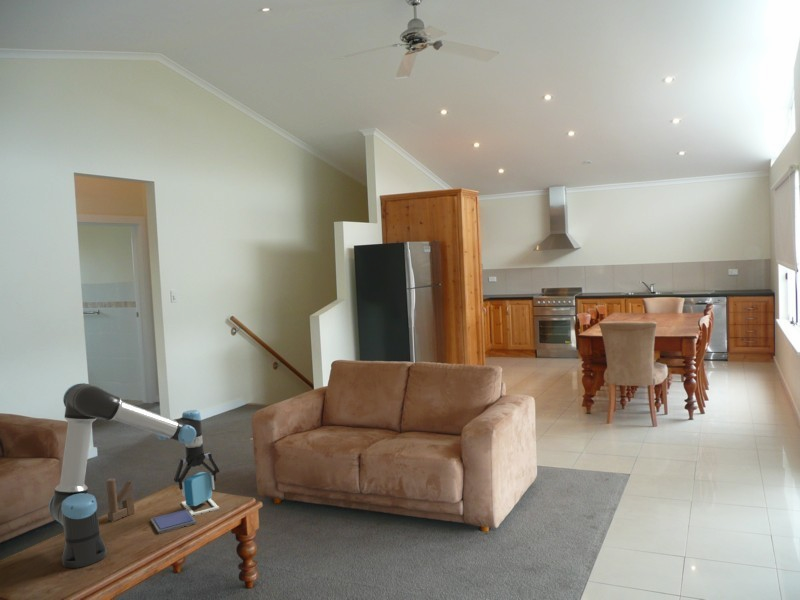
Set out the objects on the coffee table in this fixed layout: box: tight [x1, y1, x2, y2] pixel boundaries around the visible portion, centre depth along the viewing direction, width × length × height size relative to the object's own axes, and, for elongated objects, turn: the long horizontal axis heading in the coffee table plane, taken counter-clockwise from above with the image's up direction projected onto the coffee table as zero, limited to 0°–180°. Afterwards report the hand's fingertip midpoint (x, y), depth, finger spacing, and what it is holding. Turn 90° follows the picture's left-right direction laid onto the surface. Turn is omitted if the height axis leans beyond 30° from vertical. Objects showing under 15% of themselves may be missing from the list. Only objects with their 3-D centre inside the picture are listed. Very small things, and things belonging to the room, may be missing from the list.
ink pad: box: [150, 508, 197, 535], centre depth 271 cm, size 15×17×2 cm
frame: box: [180, 497, 220, 517], centre depth 288 cm, size 12×19×1 cm, turn 31°
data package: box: [183, 471, 213, 507], centre depth 287 cm, size 12×4×12 cm, turn 155°
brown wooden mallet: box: [105, 477, 136, 522], centre depth 281 cm, size 4×11×18 cm, turn 147°
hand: (198, 492), depth 287 cm, fingers closed on data package, 12 cm apart
